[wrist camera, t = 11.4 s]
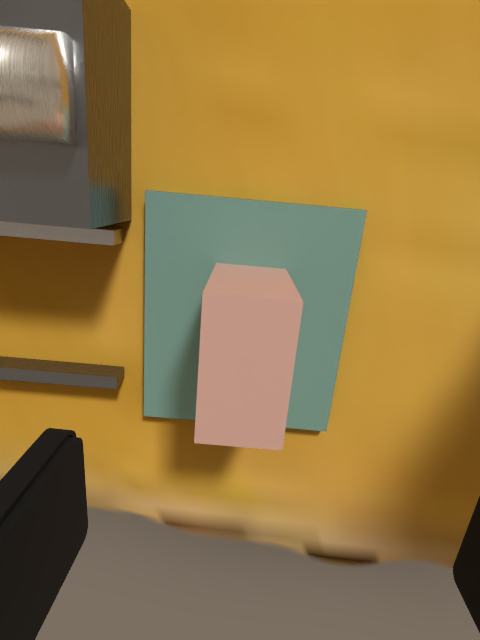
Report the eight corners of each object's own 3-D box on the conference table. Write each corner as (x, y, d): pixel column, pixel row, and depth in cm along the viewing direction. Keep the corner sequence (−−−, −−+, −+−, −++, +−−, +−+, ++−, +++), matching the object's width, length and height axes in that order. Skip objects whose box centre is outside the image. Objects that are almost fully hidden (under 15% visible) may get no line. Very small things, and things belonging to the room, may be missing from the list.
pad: (362, 209, 21) (366, 210, 21) (323, 424, 26) (326, 431, 25) (148, 190, 21) (145, 190, 21) (146, 409, 26) (143, 416, 25)
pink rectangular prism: (286, 269, 22) (304, 302, 15) (273, 379, 24) (283, 450, 17) (215, 262, 22) (201, 293, 15) (208, 373, 24) (192, 443, 17)
